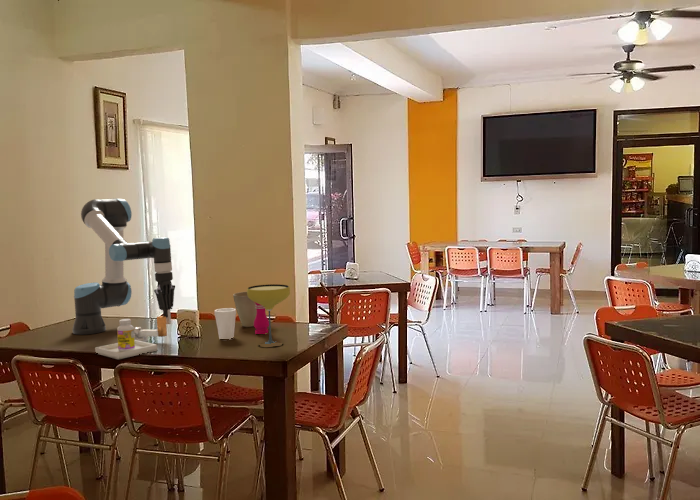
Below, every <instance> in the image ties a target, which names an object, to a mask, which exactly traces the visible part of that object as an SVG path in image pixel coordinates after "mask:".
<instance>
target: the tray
mask: <svg viewBox="0 0 700 500" xmlns="http://www.w3.org/2000/svg"><path fill="white" fill-rule="evenodd" d="M134 341H135V349H133V350H128V351H119V350H118V342H115V343H111V344H106V345H100V346H96V347H94V350H95V352H96V353H98V354H97V355H101V356H104V357H107V358H112V359H115V360H123V359H127V358H130V357H134V356H139V354H140V355H143V354H142V353H145V354H148V353H147V352H149V353H152V352H157V351H158V344H156V343H151V342H143V341H138V340H134ZM96 353H95V354H96Z"/></svg>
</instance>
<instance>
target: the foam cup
mask: <svg viewBox="0 0 700 500" xmlns="http://www.w3.org/2000/svg"><path fill="white" fill-rule="evenodd" d="M236 315H237V310H236V308H233V307H225V308H224V307H223V308H217V309H214V316H215V317H214V318H215V323H216V328H217V333H218V338H219V340H220V339H229V340H232V339H231V338H233V337H234V336H235V327H236ZM233 339H234V338H233Z"/></svg>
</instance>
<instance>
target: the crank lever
mask: <svg viewBox="0 0 700 500" xmlns="http://www.w3.org/2000/svg"><path fill="white" fill-rule="evenodd" d="M133 327H134V326H133ZM156 327H157V328H156V329H142V327H141V326H135V327H134V334H135V337H138V336H147V337H158V338H159V337H167V336H168V333H167V332H168V330H167V327H168V325H167V324H166V316H163V315H160V316H157V317H156Z"/></svg>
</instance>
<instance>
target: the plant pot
mask: <svg viewBox="0 0 700 500" xmlns="http://www.w3.org/2000/svg"><path fill="white" fill-rule="evenodd" d="M232 296H233V297H232V298H233V302H234V306H235V309H236V314H237V316H238V318H239V321H240V324H241V326H242V327H245V328H248V327H249V328H251V327H254V320H255V318H256V314H257V310H256V308H255V307H256V306H255V305H256V304H255V302H254V301H252V300H251V299H249V298H248V295H247V291H241V292H236V293H233V295H232Z"/></svg>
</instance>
